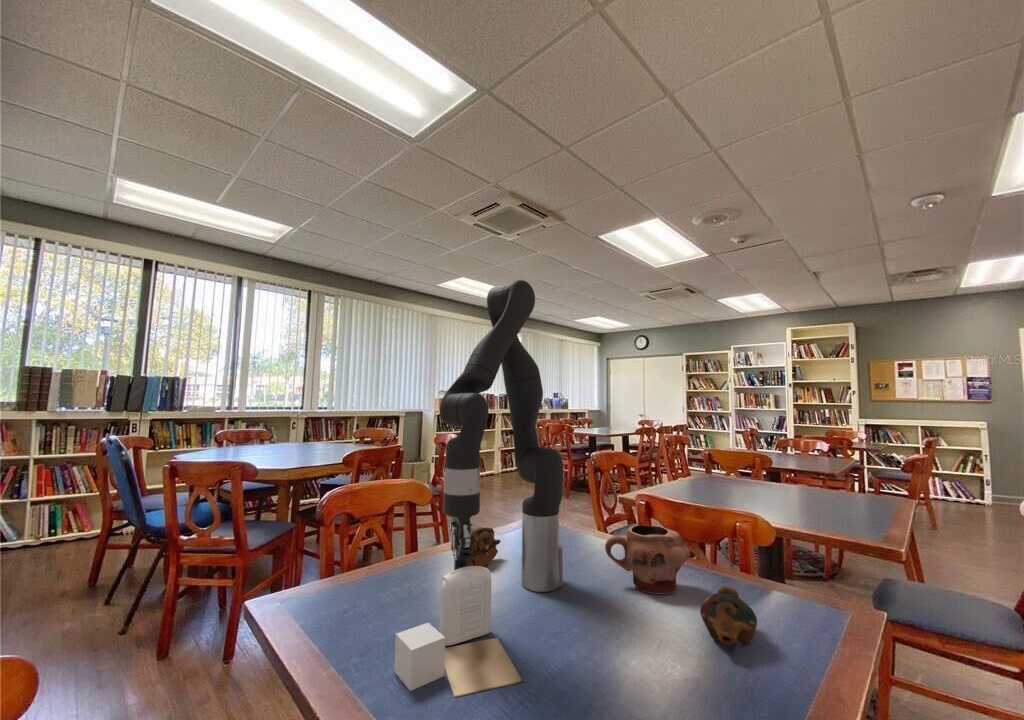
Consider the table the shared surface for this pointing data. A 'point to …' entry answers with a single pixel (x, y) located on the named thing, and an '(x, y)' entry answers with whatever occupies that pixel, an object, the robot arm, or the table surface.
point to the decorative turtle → (728, 617)
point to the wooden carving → (482, 547)
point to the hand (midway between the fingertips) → (459, 577)
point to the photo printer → (465, 604)
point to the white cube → (419, 655)
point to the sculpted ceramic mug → (651, 557)
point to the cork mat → (479, 667)
